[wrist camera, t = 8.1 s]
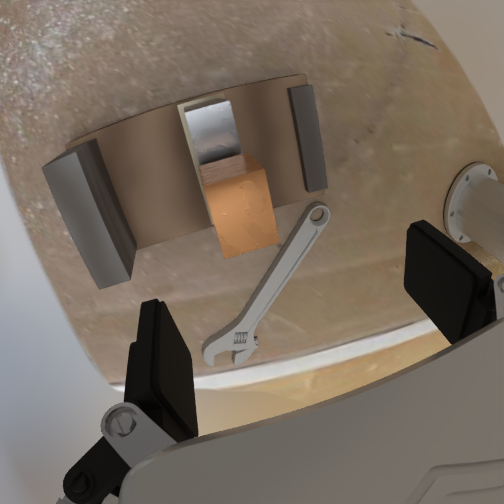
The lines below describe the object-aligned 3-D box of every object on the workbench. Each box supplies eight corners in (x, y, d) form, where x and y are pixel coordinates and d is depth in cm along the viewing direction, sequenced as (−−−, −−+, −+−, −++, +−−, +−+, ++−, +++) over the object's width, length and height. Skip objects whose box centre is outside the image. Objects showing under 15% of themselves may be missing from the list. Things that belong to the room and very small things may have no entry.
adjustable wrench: (310, 195, 34) (317, 200, 33) (349, 222, 37) (356, 228, 35) (195, 352, 42) (196, 361, 40) (235, 364, 44) (237, 373, 43)
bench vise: (297, 74, 27) (335, 74, 20) (317, 187, 33) (353, 218, 26) (71, 141, 25) (39, 161, 18) (115, 248, 31) (101, 294, 25)
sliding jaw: (220, 97, 24) (250, 105, 14) (248, 212, 30) (288, 287, 20) (182, 107, 24) (184, 123, 14) (215, 222, 30) (238, 302, 20)
